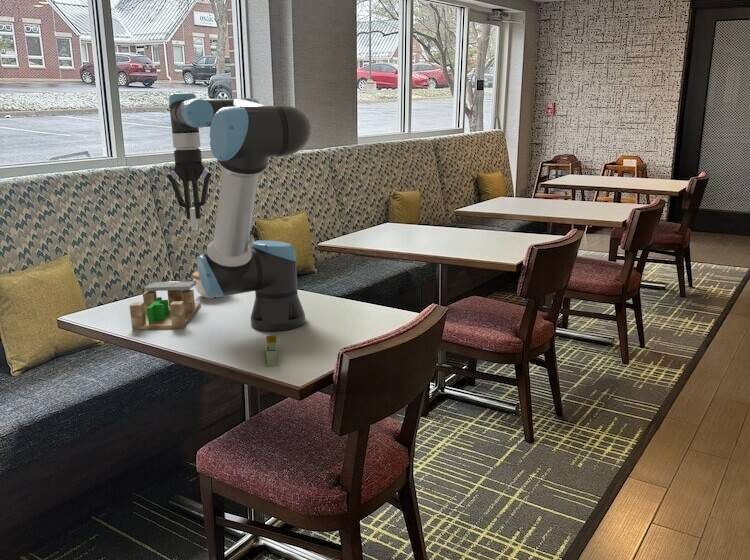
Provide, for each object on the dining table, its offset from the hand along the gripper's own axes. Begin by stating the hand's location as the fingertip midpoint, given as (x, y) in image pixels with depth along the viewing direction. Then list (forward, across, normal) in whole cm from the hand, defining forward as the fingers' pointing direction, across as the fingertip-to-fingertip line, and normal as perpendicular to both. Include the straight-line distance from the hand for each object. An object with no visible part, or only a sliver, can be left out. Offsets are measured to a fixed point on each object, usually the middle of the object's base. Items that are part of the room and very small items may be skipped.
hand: (194, 229), depth 201 cm
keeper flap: (+17, +8, +2) cm, 19 cm away
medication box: (+26, -23, +45) cm, 57 cm away
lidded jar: (+24, -1, -14) cm, 28 cm away
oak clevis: (+24, +9, +7) cm, 27 cm away
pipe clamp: (+24, +10, +11) cm, 28 cm away
